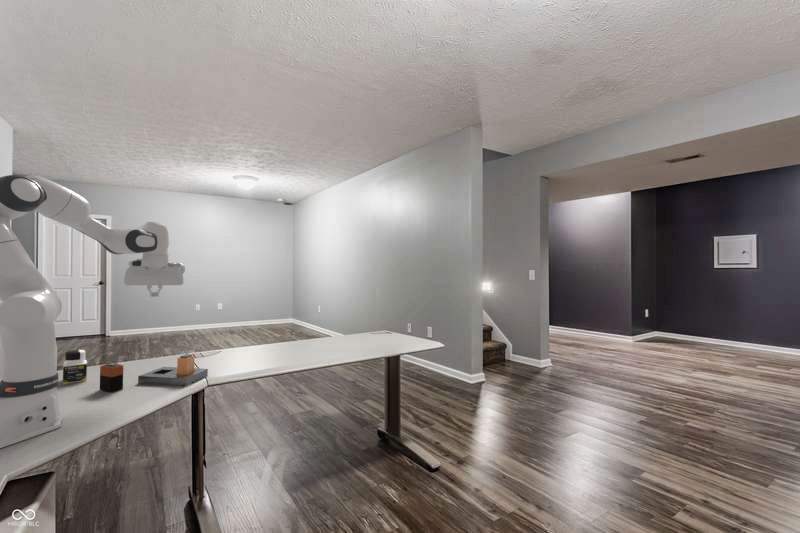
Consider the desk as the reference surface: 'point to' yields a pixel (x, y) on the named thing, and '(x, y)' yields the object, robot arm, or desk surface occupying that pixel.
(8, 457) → the desk surface
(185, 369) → the plug
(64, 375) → the medicine bottle
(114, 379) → the battery
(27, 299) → the robot arm
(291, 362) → the desk surface
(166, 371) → the socket plate
